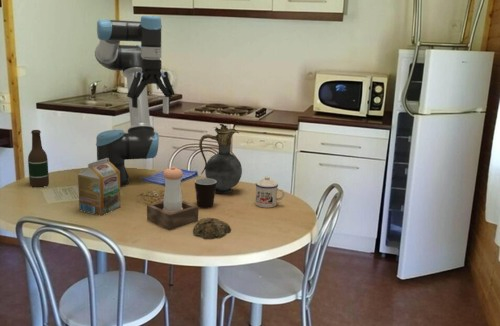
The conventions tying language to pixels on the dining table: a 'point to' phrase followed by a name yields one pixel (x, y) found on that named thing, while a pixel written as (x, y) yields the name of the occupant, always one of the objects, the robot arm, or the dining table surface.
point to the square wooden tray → (172, 215)
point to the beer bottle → (38, 162)
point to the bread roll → (211, 228)
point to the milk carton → (99, 188)
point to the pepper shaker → (172, 190)
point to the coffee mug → (205, 192)
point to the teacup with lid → (267, 193)
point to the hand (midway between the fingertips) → (151, 114)
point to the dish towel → (160, 180)
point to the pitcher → (222, 161)
